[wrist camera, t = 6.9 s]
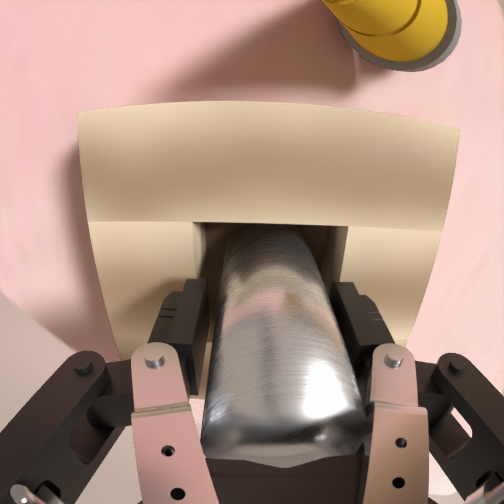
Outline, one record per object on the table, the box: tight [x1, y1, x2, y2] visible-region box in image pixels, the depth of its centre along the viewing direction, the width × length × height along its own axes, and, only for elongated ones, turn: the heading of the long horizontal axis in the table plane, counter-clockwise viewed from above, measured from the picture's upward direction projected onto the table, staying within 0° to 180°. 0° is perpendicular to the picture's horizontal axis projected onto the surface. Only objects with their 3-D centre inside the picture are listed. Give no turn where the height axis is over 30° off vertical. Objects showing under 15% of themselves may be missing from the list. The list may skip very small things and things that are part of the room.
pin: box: [200, 223, 367, 468], centre depth 11 cm, size 4×4×10 cm
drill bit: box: [321, 0, 462, 72], centre depth 8 cm, size 5×5×10 cm
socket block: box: [77, 101, 460, 399], centre depth 14 cm, size 14×14×4 cm
